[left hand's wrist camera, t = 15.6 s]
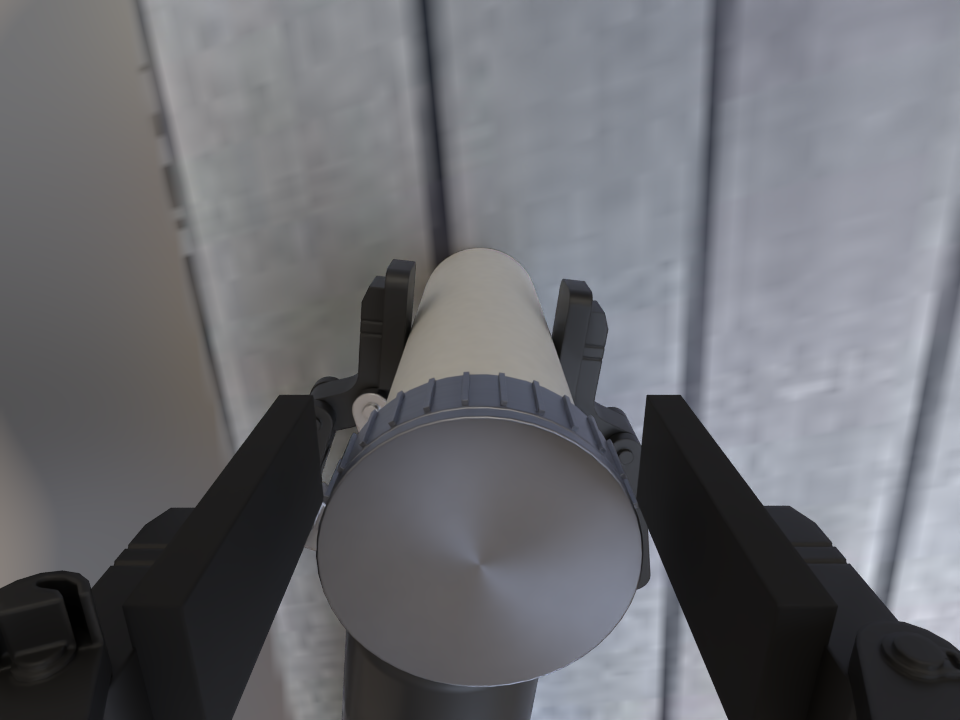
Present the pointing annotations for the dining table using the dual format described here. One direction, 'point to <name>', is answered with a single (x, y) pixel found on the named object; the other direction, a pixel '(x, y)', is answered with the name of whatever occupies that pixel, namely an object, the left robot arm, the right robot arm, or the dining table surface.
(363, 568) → the lid
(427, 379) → the jar
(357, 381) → the right robot arm
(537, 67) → the dining table surface
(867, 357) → the dining table surface
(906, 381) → the dining table surface
